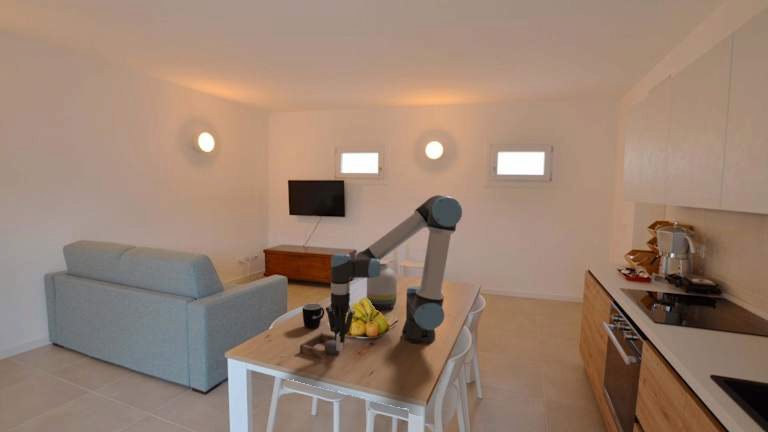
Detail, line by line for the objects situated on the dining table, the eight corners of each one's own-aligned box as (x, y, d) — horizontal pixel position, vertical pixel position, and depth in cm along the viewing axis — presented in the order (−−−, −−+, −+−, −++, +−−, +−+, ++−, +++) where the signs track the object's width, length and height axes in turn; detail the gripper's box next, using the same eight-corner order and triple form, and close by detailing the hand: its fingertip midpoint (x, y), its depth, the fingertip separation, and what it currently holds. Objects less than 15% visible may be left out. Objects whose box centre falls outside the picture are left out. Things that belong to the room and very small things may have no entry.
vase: (391, 313, 192) (392, 269, 190) (361, 309, 197) (362, 266, 195) (400, 303, 208) (400, 263, 206) (372, 300, 213) (373, 260, 211)
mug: (311, 332, 165) (311, 310, 164) (298, 327, 171) (298, 306, 170) (330, 324, 175) (330, 304, 174) (317, 320, 180) (317, 300, 179)
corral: (344, 345, 152) (344, 338, 152) (323, 359, 140) (323, 351, 139) (321, 339, 158) (321, 332, 158) (300, 352, 145) (300, 345, 145)
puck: (342, 350, 148) (342, 341, 148) (333, 356, 142) (334, 347, 142) (330, 346, 151) (330, 338, 150) (321, 352, 145) (321, 344, 145)
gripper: (359, 292, 143) (358, 349, 145) (332, 287, 149) (331, 342, 151) (349, 297, 136) (348, 357, 138) (321, 292, 142) (320, 349, 144)
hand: (339, 349), depth 145 cm, fingers closed
